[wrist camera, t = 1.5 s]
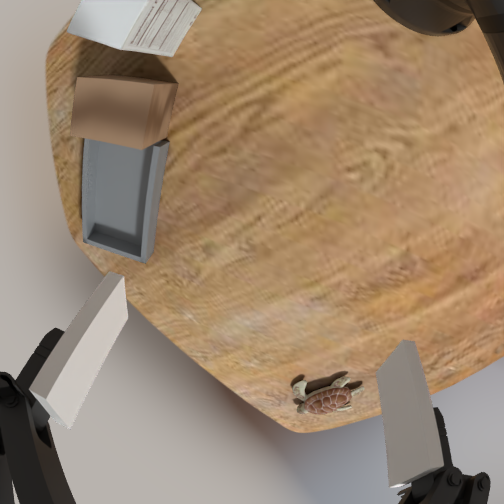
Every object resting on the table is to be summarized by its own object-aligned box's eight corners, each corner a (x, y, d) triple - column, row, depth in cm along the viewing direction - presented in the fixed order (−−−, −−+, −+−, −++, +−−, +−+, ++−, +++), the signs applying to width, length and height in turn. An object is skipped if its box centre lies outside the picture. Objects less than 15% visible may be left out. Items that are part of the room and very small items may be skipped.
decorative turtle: (270, 390, 60) (268, 409, 56) (331, 360, 52) (332, 381, 48) (320, 415, 65) (320, 432, 61) (376, 390, 58) (379, 408, 53)
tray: (98, 127, 33) (85, 132, 31) (169, 141, 34) (160, 147, 31) (93, 232, 42) (83, 242, 40) (153, 252, 43) (145, 263, 40)
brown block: (109, 74, 29) (77, 77, 23) (178, 83, 30) (154, 84, 24) (101, 124, 33) (70, 135, 27) (166, 137, 33) (142, 150, 28)
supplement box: (126, 40, 27) (62, 32, 16) (155, -9, 23) (100, -36, 12) (173, 59, 28) (119, 52, 17) (205, 9, 24) (164, -24, 14)
